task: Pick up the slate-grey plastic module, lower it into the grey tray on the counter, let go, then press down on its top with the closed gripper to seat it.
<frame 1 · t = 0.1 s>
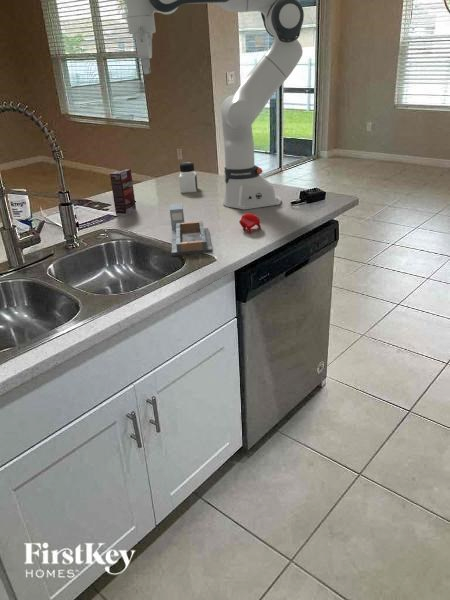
hand: (147, 73, 162), 48 cm above the worktop, tool pointing down, fingers open, 8 cm apart
supplement box: (126, 213, 183), on the worktop
medicine bottle: (189, 191, 208), on the worktop
red toy chair: (250, 230, 156), on the worktop
grey tray: (191, 242, 149), on the worktop
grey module: (178, 226, 164), on the worktop
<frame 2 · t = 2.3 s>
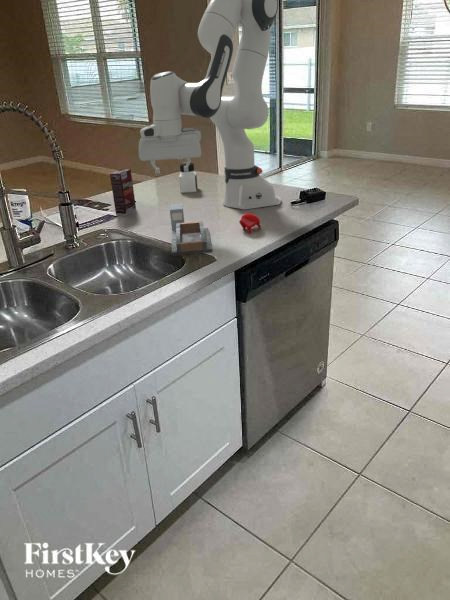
hand: (172, 172, 156), 18 cm above the worktop, tool pointing down, fingers open, 8 cm apart
nothing on the worktop moved.
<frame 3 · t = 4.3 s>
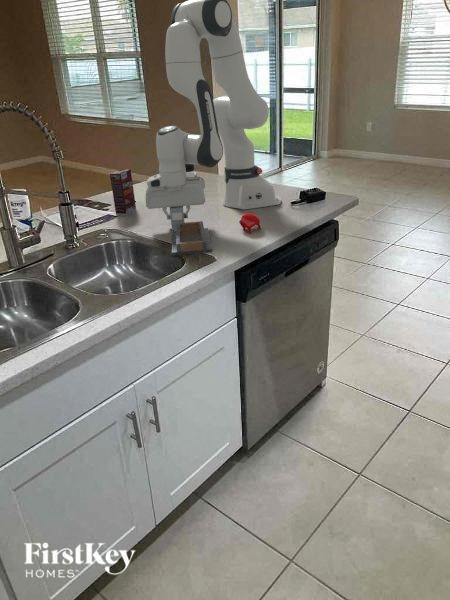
hand: (177, 218, 163), 3 cm above the worktop, tool pointing down, fingers closed on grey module, 4 cm apart
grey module: (178, 225, 164), on the worktop, touching gripper
everything else where it was.
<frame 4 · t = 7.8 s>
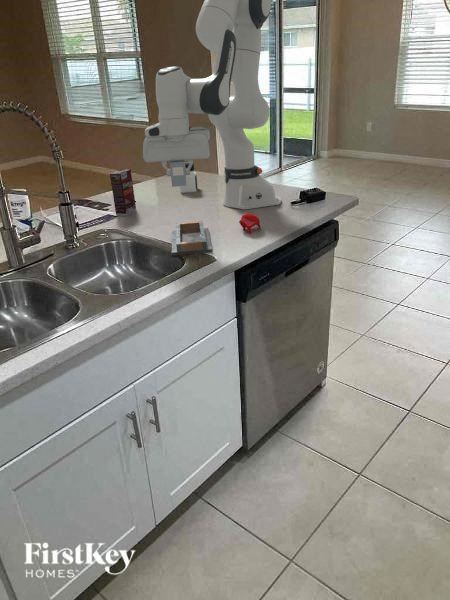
hand: (178, 175, 146), 20 cm above the worktop, tool pointing down, fingers closed on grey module, 4 cm apart
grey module: (179, 183, 147), point 17 cm above the worktop, touching gripper
everything else where it was.
when the fingers open (5 cm above the worktop, at t = 11.5 s): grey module drops 1 cm, resting on grey tray.
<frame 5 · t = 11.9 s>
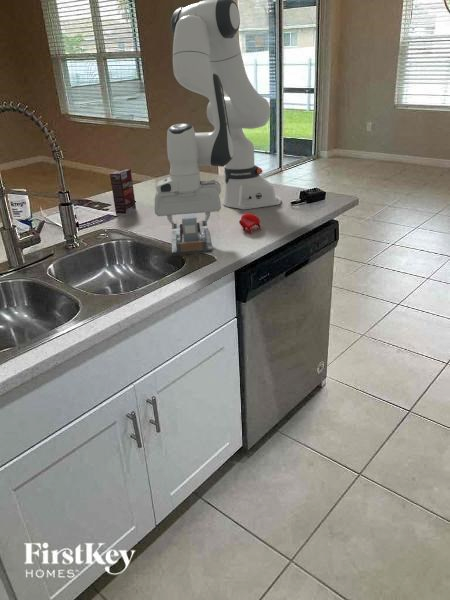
hand: (189, 227, 146), 5 cm above the worktop, tool pointing down, fingers open, 8 cm apart
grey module: (191, 239, 148), point 1 cm above the worktop, touching grey tray
everything else where it was.
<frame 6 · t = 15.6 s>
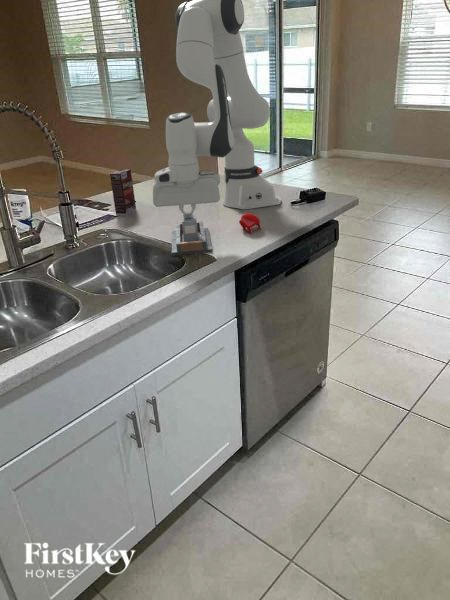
hand: (188, 218, 145), 8 cm above the worktop, tool pointing down, fingers closed, pressing on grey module
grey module: (191, 239, 148), point 1 cm above the worktop, touching gripper, grey tray
everything else where it was.
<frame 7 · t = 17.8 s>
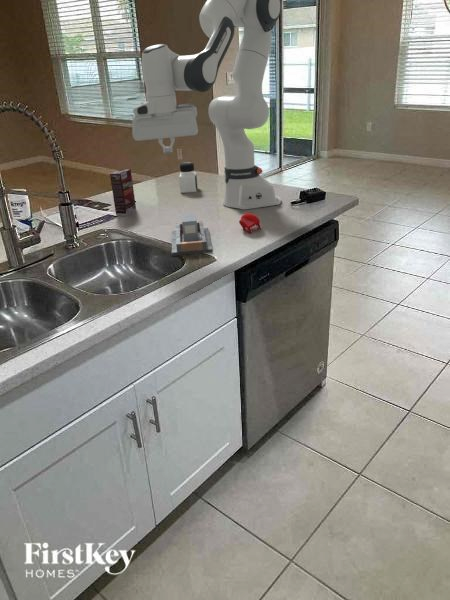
hand: (168, 152, 149), 26 cm above the worktop, tool pointing down, fingers closed
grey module: (191, 239, 148), point 1 cm above the worktop, touching grey tray
everything else where it was.
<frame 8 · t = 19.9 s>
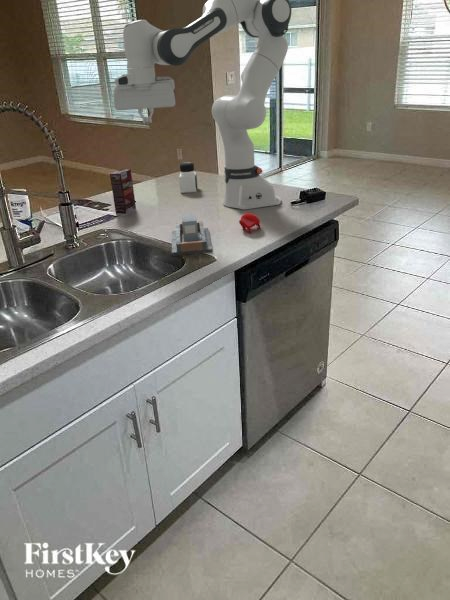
hand: (147, 122, 159), 33 cm above the worktop, tool pointing down, fingers closed
nothing on the worktop moved.
at the end: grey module inside the target area on the grey tray (0.1 cm from its centre), point 1.0 cm above the grey tray's base; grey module tilted 0°; the gripper is holding nothing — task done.
